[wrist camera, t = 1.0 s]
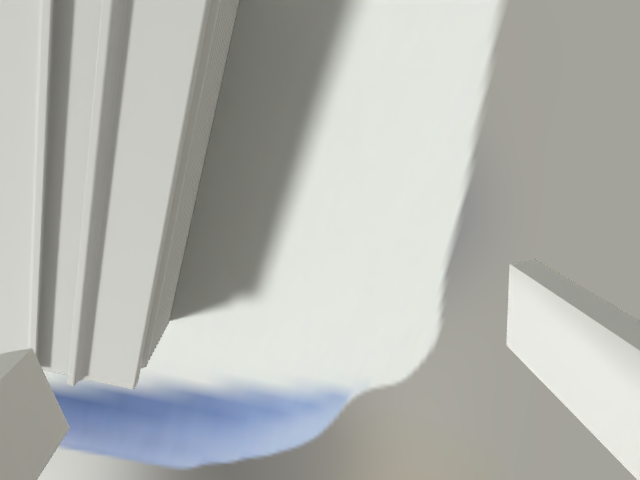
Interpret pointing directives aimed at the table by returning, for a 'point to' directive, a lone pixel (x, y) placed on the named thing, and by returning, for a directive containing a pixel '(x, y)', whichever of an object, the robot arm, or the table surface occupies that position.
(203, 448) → the table surface
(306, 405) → the table surface
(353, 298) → the table surface
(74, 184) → the aluminum extrusion profile
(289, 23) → the table surface
